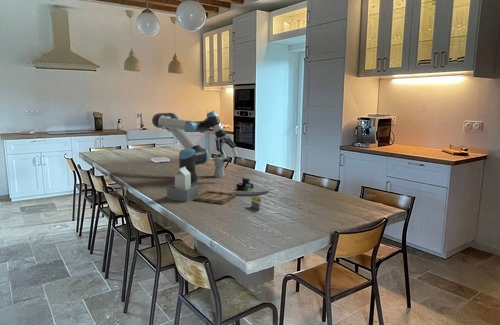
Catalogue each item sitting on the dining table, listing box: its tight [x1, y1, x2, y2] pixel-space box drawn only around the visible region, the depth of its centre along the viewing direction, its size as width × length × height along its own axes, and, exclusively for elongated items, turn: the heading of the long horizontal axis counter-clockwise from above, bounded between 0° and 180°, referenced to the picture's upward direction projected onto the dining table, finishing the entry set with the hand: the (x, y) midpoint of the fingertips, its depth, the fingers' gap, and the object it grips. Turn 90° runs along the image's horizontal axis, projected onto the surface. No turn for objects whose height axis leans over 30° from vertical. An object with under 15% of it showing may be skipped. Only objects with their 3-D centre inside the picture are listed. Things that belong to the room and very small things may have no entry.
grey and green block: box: [249, 195, 264, 211], centre depth 200 cm, size 12×18×7 cm, turn 33°
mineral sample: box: [219, 177, 269, 197], centre depth 242 cm, size 35×35×9 cm
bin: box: [166, 184, 200, 202], centre depth 219 cm, size 14×14×7 cm
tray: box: [193, 190, 237, 205], centre depth 218 cm, size 20×18×2 cm
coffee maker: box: [212, 153, 230, 178], centre depth 281 cm, size 15×9×18 cm, turn 68°
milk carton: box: [174, 167, 192, 190], centre depth 218 cm, size 7×7×19 cm
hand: (231, 157), depth 258 cm, fingers open, 13 cm apart
